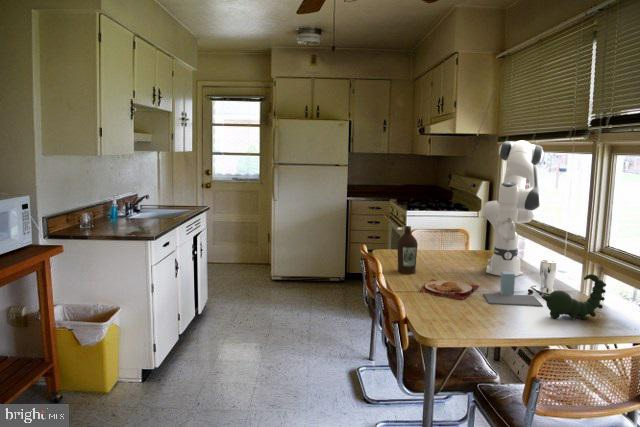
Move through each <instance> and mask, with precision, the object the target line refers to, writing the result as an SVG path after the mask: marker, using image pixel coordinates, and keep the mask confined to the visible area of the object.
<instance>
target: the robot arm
mask: <svg viewBox="0 0 640 427" xmlns="http://www.w3.org/2000/svg"><path fill="white" fill-rule="evenodd" d="M543 149H544V148H543V146H541V145H539V144H532V143H530V142H529V141H527V140H517V141H511V140H506V141H504V142H502V143H501V145H500V146H499V149H498V154H499V158H500V160H503V161H505V162H506V161H507V168H506V171H505V174H504V178H503V182H502V183H500V186H499V191H498V193H497V200H491V201H490V200H489V201H487V202H485V204H484V205H483V208H482V213H483V216H484V218H485V219H486V220H487V221H489V223H490V224H491V225H492V227H493V230H494V238H495V240H494V242H495V243H494V248H493V254H492V256H491V258H489V259H487V264H488V265H486V269H485V270H486V271H485V272H486V273H487V274H491V275H494V276H500V277H501V271H507V272H513V273H514V274H515V277H518V276H522V275H524V272H523V271H521V259H520V258H519V257H518V254H519V249H518V237H519V236H518V233H517V232H516V224H525V223H530V222H531V221H532V220H533V219H534V218H535V217H534V216H535V210H537V209H538V208H539V207H540V205H541V200H542V197H541V194H540V190H539V187H540V186H539V174H538V168H537V166H538V164H540V162H541V161H542V159H543V157H544V150H543ZM527 180H528V181H529V188H525V187H526V182H527Z"/></svg>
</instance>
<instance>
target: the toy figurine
mask: <svg viewBox="0 0 640 427" xmlns="http://www.w3.org/2000/svg"><path fill="white" fill-rule="evenodd" d="M589 279H590V280H591V281H592V282H594V283H593V284H594V286H592V289H591V291H592V292H590V294H589V297H588V298H587V299H586V301H582V300H581V301H578V300H577V299H575V298H573V297H572V296H571V295H570V294H569V293H567V292H566V291H564V290H558V289H557V290H553V292H551V293H550V294H547V295H542V296H540V298H541V299H542V300H544V301H545V303H546V307H547V309H548V310H549V315H550V317H551V319H555V320H557V319H559V318H560V317H561V315H563V316H564V315H565V316H568V317H569V318H570V319H572V320H575V319H577V318H580V319H581V320H583V321H585V320H587V315H589V316H590V317H591V318H595V317H596V316H597V314H596V312H595V310H596V309H603V308H604V306H603V305H602V304H601V303H600V301H602V302H603V301H605V299H606V298H605V297H604V296H603V295H602V294H606V293H607V292H606V289H604V287H607V283H605V281H604V280H602V279H599V277H598V275H596V274H594V273H589V274H587V275H585V276H584V277H583V280H584V281H586V280H589Z"/></svg>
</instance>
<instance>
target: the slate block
mask: <svg viewBox="0 0 640 427" xmlns="http://www.w3.org/2000/svg"><path fill="white" fill-rule="evenodd" d="M515 282H516V276H515V274H514V273H513V272H507V271H501V276H500V285H499V286H500V289H499V292H500V293H499V294H509V295H515V284H516V283H515Z"/></svg>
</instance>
